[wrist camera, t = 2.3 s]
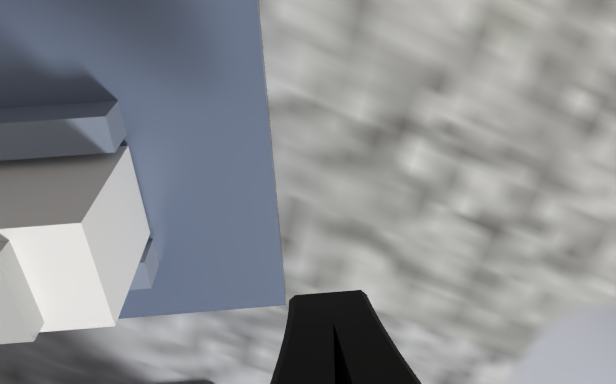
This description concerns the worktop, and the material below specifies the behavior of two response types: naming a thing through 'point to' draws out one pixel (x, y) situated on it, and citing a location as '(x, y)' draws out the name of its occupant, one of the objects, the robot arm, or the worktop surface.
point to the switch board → (158, 133)
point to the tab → (67, 242)
